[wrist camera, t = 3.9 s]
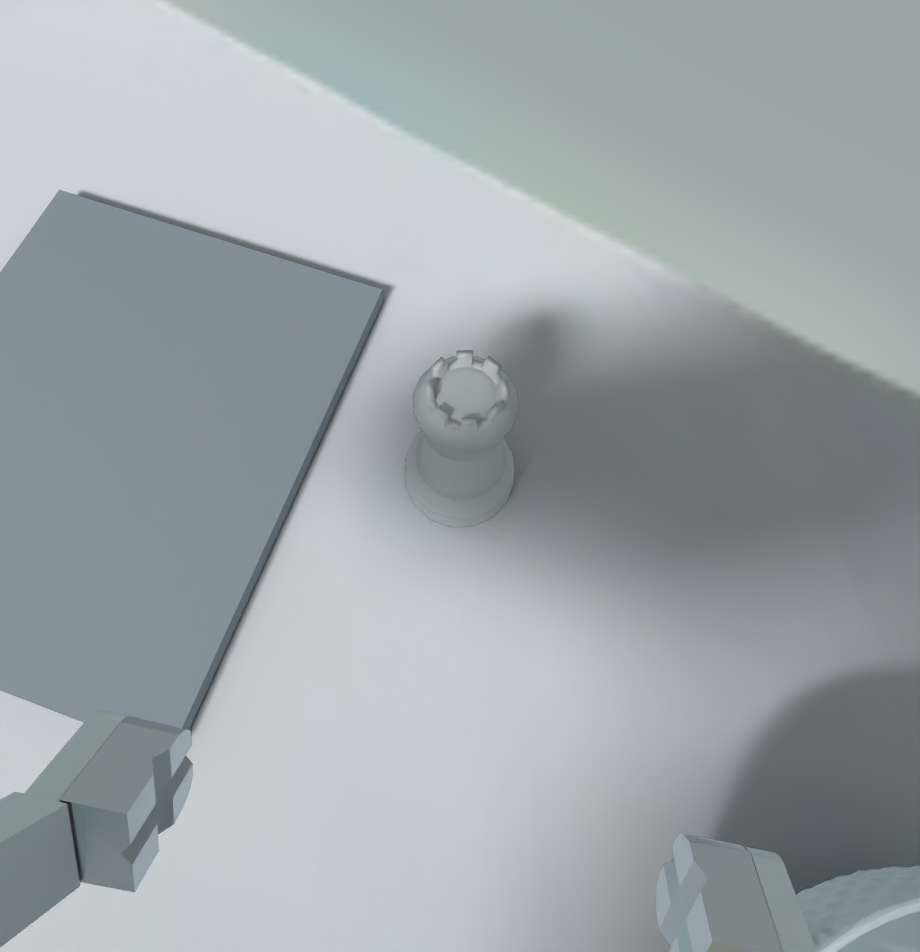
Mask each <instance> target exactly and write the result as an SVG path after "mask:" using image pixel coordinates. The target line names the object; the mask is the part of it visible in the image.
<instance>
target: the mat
mask: <svg viewBox="0 0 920 952" xmlns="http://www.w3.org/2000/svg"><path fill="white" fill-rule="evenodd" d="M383 301H384V298H383V290H382V289H379V288H376V287H373V286H370V285H366V284H363V283H360V282H357V281H353V280H350V279H347V278H344V277H340V276H337V275H334V274H331V273H327V272H324V271H321V270H318V269H314V268H311V267H308V266H305V265H302V264H298V263H295V262H292V261H289V260H285V259H282V258H279V257H276V256H272V255H269V254H266V253H263V252H259V251H256V250H253V249H250V248H246V247H243V246H240V245H237V244H233V243H230V242H227V241H224V240H220V239H217V238H214V237H211V236H208V235H204V234H201V233H198V232H195V231H191V230H188V229H185V228H182V227H178V226H175V225H172V224H169V223H165V222H162V221H159V220H156V219H152V218H149V217H146V216H143V215H139V214H136V213H133V212H130V211H126V210H123V209H120V208H117V207H114V206H110V205H107V204H104V203H101V202H97V201H94V200H91V199H88V198H84V197H81V196H78V195H75V194H71V193H68V192H65V191H62V190H59V191H58V193H57V194H56V195H55V197H54V198H53V200H52V201H51V202H50V204H49V205H48V207H47V208H46V209H45V211H44V212H43V214H42V215H41V216H40V218H39V219H38V221H37V222H36V223H35V225H34V226H33V228H32V229H31V230H30V232H29V233H28V235H27V236H26V237H25V239H24V240H23V242H22V243H21V244H20V246H19V247H18V249H17V250H16V251H15V253H14V254H13V256H12V257H11V258H10V260H9V261H8V262H7V264H6V265H5V267H4V268H3V269H2V271H1V272H0V690H1V691H3V692H6V693H9V694H11V695H14V696H16V697H19V698H22V699H24V700H27V701H29V702H32V703H35V704H37V705H40V706H43V707H45V708H48V709H50V710H53V711H56V712H58V713H61V714H63V715H66V716H69V717H71V718H74V719H76V720H79V721H82V722H85V721H86V720H87V719H88V718H89V717H90V716H91V715H93V714H94V713H96V712H97V711H99V710H100V709H101V710H106V711H110V712H115V713H119V714H124V715H128V716H132V717H137V718H141V719H145V720H149V721H153V722H157V723H161V724H165V725H170V726H174V727H178V728H182V729H186V730H190V727H191V725H192V723H193V721H194V719H195V716H196V714H197V712H198V710H199V708H200V705H201V703H202V701H203V699H204V696H205V694H206V692H207V690H208V688H209V685H210V683H211V681H212V679H213V677H214V674H215V672H216V670H217V668H218V666H219V663H220V661H221V659H222V657H223V654H224V652H225V650H226V648H227V646H228V643H229V641H230V639H231V637H232V635H233V632H234V630H235V628H236V626H237V624H238V621H239V619H240V617H241V615H242V613H243V610H244V608H245V606H246V604H247V601H248V599H249V597H250V595H251V593H252V590H253V588H254V586H255V584H256V582H257V579H258V577H259V575H260V573H261V571H262V568H263V566H264V564H265V562H266V559H267V557H268V555H269V553H270V551H271V548H272V546H273V544H274V542H275V540H276V537H277V535H278V533H279V531H280V529H281V526H282V524H283V522H284V520H285V518H286V515H287V513H288V511H289V509H290V506H291V504H292V502H293V500H294V498H295V495H296V493H297V491H298V489H299V487H300V484H301V482H302V480H303V478H304V476H305V473H306V471H307V469H308V467H309V464H310V462H311V460H312V458H313V456H314V453H315V451H316V449H317V447H318V445H319V442H320V440H321V438H322V436H323V434H324V431H325V429H326V427H327V425H328V423H329V420H330V418H331V416H332V414H333V411H334V409H335V407H336V405H337V403H338V400H339V398H340V396H341V394H342V392H343V389H344V387H345V385H346V383H347V381H348V378H349V376H350V374H351V372H352V369H353V367H354V365H355V363H356V361H357V358H358V356H359V354H360V352H361V350H362V347H363V345H364V343H365V341H366V339H367V336H368V334H369V332H370V330H371V328H372V325H373V323H374V321H375V319H376V316H377V314H378V312H379V310H380V308H381V305H382V303H383Z"/></svg>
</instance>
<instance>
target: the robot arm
mask: <svg viewBox="0 0 920 952" xmlns="http://www.w3.org/2000/svg"><path fill="white" fill-rule="evenodd" d="M191 746H192V739H191V731H190V730H186V729H182V728H178V727H174V726H170V725H165V724H161V723H157V722H153V721H149V720H145V719H141V718H137V717H132V716H128V715H124V714H119V713H115V712H110V711H106V710H101V709H100V710H99V711H97V712H96V713H94V714H93V715H91V716H90V717H89V718H88V719H87V720H86V721H85V722H84V724H83V725H82V726H81V727H80V728H79V729H78V731H77V732H76V733H75V734H74V735H73V737H72V738H71V739H70V740H69V741H68V742H67V744H66V745H65V746H64V747H63V748H62V749H61V751H60V752H59V753H58V754H57V755H56V757H55V758H54V759H53V760H52V761H51V762H50V764H49V765H48V766H47V767H46V768H45V769H44V771H43V772H42V773H41V774H40V775H39V776H38V778H37V779H36V780H35V781H34V782H33V784H32V785H31V786H30V787H29V788H28V789H27V791H26V792H25V793H24V794H23V793H18V792H14V793H12V794H10V795H8V796H6V797H4V798H2V799H0V947H2V946H3V945H4V944H5V943H7V942H8V941H9V940H11V939H12V938H13V937H15V936H16V935H17V934H18V933H20V932H21V931H22V930H24V929H25V928H26V927H28V926H29V925H30V924H31V923H33V922H34V921H35V920H37V919H38V918H39V917H40V916H42V915H43V914H44V913H46V912H47V911H48V910H50V909H51V908H52V907H53V906H55V905H56V904H57V903H59V902H60V901H61V900H62V899H64V898H65V897H66V896H68V895H69V894H70V893H72V892H73V891H74V890H75V889H77V888H78V887H79V886H80V882H83V883H89V884H94V885H99V886H105V887H110V888H115V889H121V890H126V891H131V892H135V891H136V889H137V888H138V886H139V884H140V882H141V881H142V879H143V877H144V875H145V874H146V872H147V870H148V869H149V867H150V865H151V863H152V862H153V860H154V858H155V856H156V855H157V853H158V851H159V845H158V834H160V833H161V832H163V831H164V830H166V829H167V828H169V827H170V826H172V825H173V824H174V823H175V821H176V819H177V818H178V816H179V814H180V812H181V810H182V809H183V806H184V804H185V801H186V798H187V796H188V793H189V790H190V787H191V782H192V776H193V764H192V762H191V761H190V760H189V759H188V758H187V756H186V754H187V752H188V751H189V749H190V747H191ZM672 850H673V855H674V860H672V861H670V862H668V863H666V864H664V865H663V867H662V869H661V872H660V874H659V877H658V880H657V888H656V896H655V898H656V915H657V922H658V928H659V931H660V932H661V934H662V935H663V936H664V938H665V939H666V941H667V942H668V944H669V945H670V946H671V948H670V950H669V952H817V951H816V948H815V945H814V943H813V940H812V937H811V935H810V932H809V929H808V926H807V924H806V921H805V918H804V916H803V913H802V910H801V908H800V905H799V902H798V900H797V897H796V894H795V891H794V889H793V886H792V883H791V881H790V878H789V875H788V873H787V870H786V867H785V865H784V862H783V860H782V859H781V858H780V856H779V855H778V854H777V853H774V852H769V851H764V850H760V849H755V848H750V847H743V846H742V845H739V844H734V843H729V842H724V841H719V840H714V839H709V838H704V837H699V836H693V835H688V834H683V833H682V834H681V835H679V836H678V837H677V838H676V840H675V842H674V844H673V846H672Z"/></svg>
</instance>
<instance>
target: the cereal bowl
mask: <svg viewBox="0 0 920 952" xmlns="http://www.w3.org/2000/svg"><path fill="white" fill-rule="evenodd" d="M796 897H797V900H798V902H799V905H800V908H801V910H802V913H803V916H804V918H805V921H806V924H807V926H808V929H809V932H810V935H811V937H812V940H813V943H814V945H815V948H816V951H817V952H920V865H918V866H913V867H908V868H906V867H895V866H892V867H888V868H882V869H869V870H867V871H859V870H858V871H856V872H855V873H853V874H850V875H843V876H837V877H835V878H834V879H832V880H828V881H825V882H823V883H821V884H817V885H816V886H814V887H813V888H808V889H803V890H802V891H801V892H800V893H798V894H797V895H796Z"/></svg>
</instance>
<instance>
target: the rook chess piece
mask: <svg viewBox="0 0 920 952" xmlns="http://www.w3.org/2000/svg"><path fill="white" fill-rule="evenodd" d="M518 411H519V408H518V396H517V391H516V389H515V387H514V385H513V383H512V381H511V380H510V378H509V376H508V375H507V374H506V373H505V372H504V371H503V370H501V365H500V364H499V363H497V362H496V361H495V360H494V359H492V358H491V357H490V356H488V358H487V359H486V360H484V359H481V358H478V357H475V356H473V350H469V351H457V356H454V357H451V358H448V359H446V360H444V359H443V357H441V358H440V359H439V360H438V361H437V362H436V363H435V364H434V365H432V366H431V368H430V369H429V370H428V371H426V372H425V373H424V374H423V375H422V376H421V377H420V380H419V382H418V384H417V386H416V389H415V391H414V393H413V413H414V415H415V417H416V419H417V421H418V424H419V426H420V428H421V430H422V431H421V432H420V433H419V434H418V435H417V436H416V437H415V438H414V440H413V442H412V444H411V447H410V449H409V451H408V454H407V456H406V465H405V487H406V489H407V491H408V493H409V495H410V498H411V500H412V502H413V504H414V506H415V507H417V508H418V509H419V510H420V511H421V512H422V513H423V514H424V515H425V516H427V517H428V518H429V519H430V520H432V521H435V522H438V523H441V524H444V525H446V526H449V527H468V526H475V525H477V524H479V523H481V522H484V521H486V520H488V519H490V518H493V517H494V516H495V514H496V513H497V512H498V511H499V510H500V509H501V508H502V507H503V506H504V505H505V504H506V503H507V501H508V498H509V495H510V493H511V490H512V487H513V484H514V476H515V473H514V460H513V454H512V452H511V450H510V448H509V446H508V444H507V442H506V441H505V439H504V436H505V435H506V434H507V433H508V432H509V431H510V430H511V429H512V427H513V424H514V422H515V419H516V416H517V414H518Z"/></svg>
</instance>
